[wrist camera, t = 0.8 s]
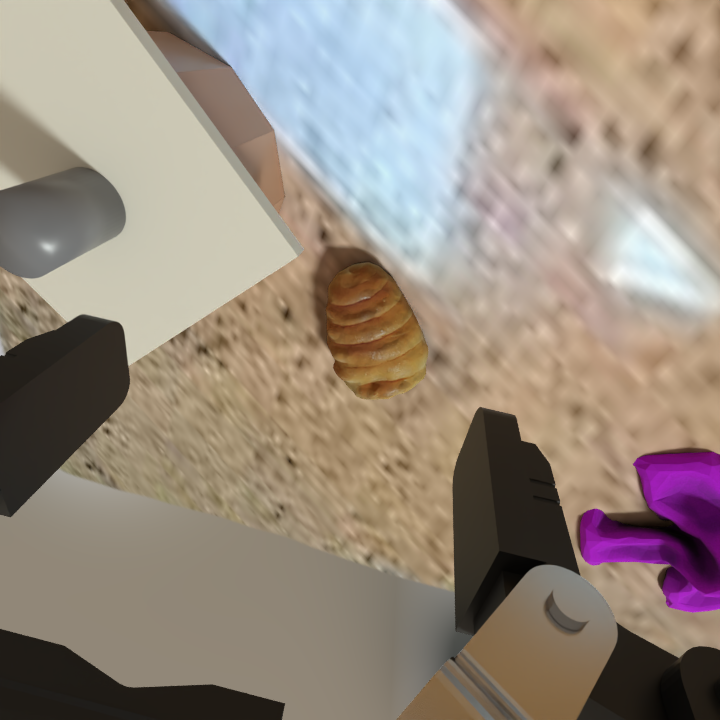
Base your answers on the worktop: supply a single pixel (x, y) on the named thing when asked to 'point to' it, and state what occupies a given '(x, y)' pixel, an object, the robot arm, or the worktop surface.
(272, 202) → the bowl
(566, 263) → the worktop surface
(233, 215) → the cover
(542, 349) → the worktop surface
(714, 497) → the cloth
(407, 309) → the pastry
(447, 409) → the worktop surface
